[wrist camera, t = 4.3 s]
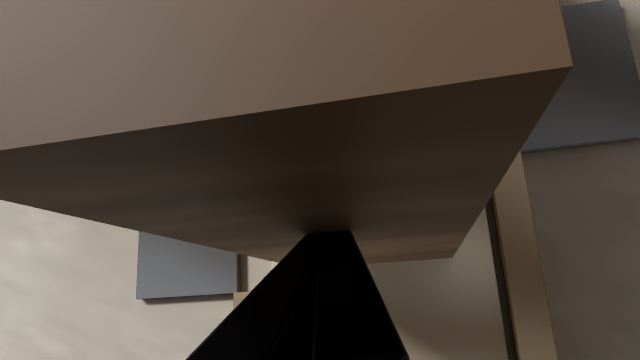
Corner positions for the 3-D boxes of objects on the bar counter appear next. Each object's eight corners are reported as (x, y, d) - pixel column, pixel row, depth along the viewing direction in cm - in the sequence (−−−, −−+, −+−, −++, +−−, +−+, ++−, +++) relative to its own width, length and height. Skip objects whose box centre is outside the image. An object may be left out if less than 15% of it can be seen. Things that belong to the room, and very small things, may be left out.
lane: (729, 452, 12) (821, 499, 9) (134, 446, 16) (70, 479, 13) (575, -149, 18) (603, -234, 15) (156, -50, 21) (115, -104, 18)
